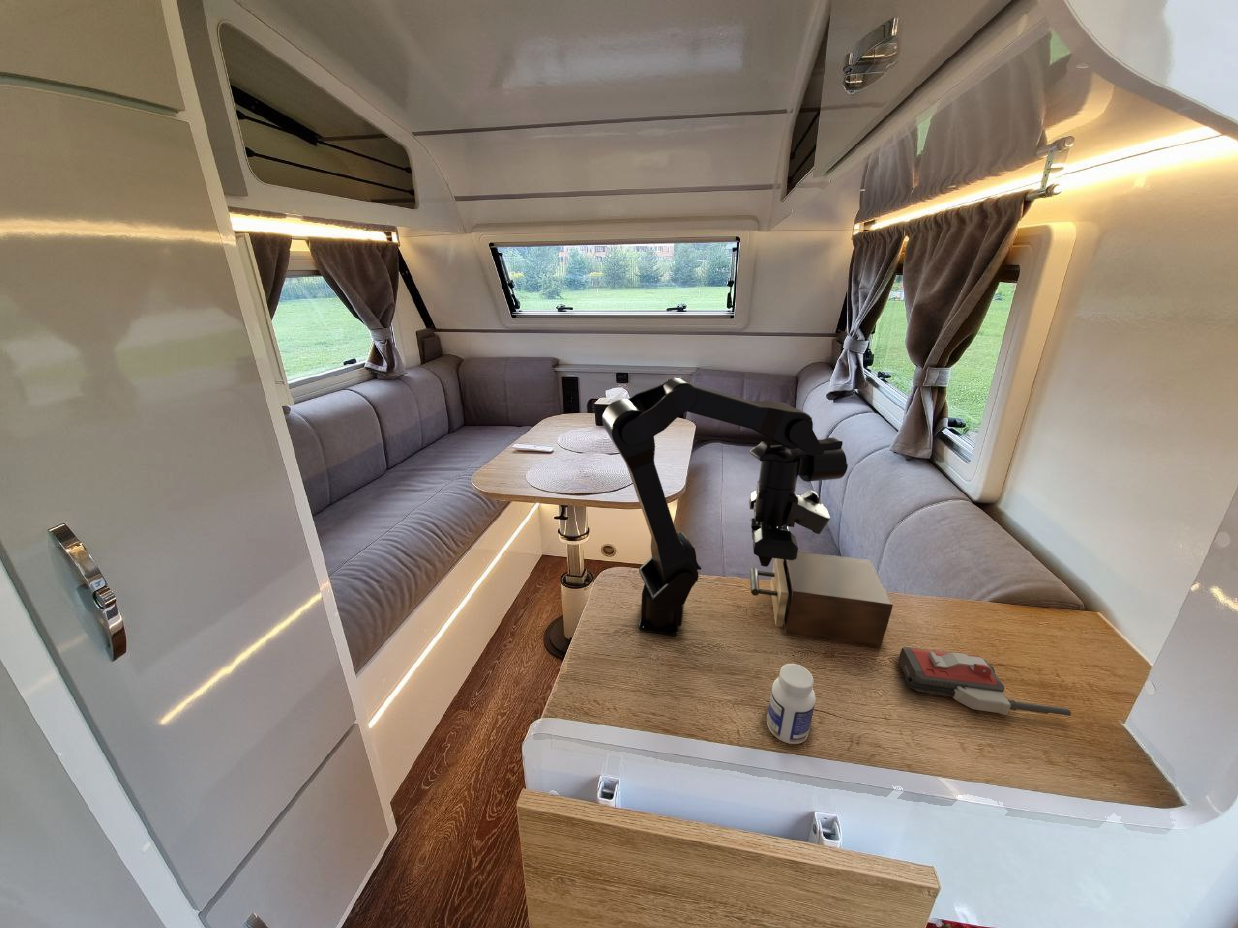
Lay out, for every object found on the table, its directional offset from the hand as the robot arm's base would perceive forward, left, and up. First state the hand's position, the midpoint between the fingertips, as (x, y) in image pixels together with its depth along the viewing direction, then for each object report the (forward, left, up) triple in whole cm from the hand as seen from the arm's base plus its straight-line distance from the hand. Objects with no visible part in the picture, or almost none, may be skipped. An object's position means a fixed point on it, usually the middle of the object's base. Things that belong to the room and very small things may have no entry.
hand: (764, 565), depth 82 cm
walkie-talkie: (+29, -12, -9) cm, 33 cm away
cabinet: (+11, 0, -9) cm, 14 cm away
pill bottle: (+2, -24, -9) cm, 26 cm away
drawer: (+7, 0, -8) cm, 10 cm away
